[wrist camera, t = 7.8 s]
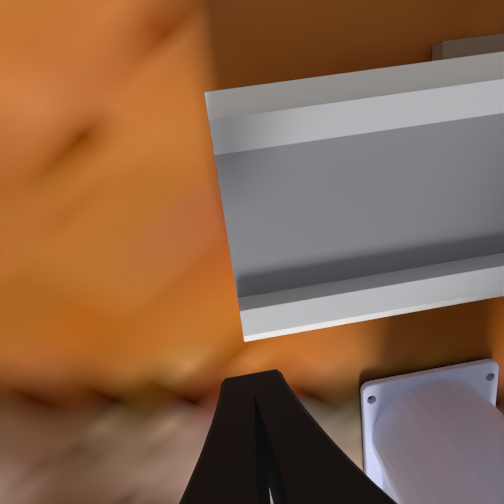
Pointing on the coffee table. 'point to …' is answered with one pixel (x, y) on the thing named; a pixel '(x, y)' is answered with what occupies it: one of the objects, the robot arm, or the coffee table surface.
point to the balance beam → (364, 189)
